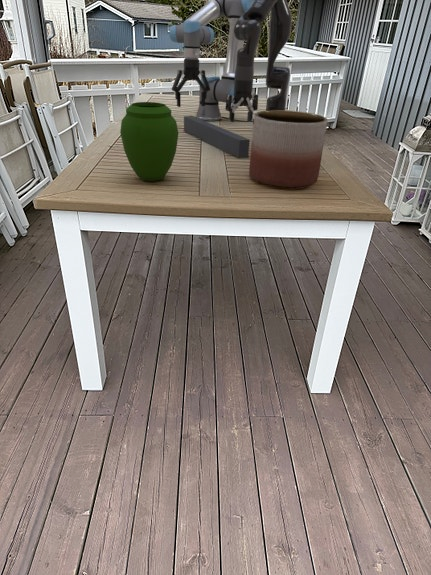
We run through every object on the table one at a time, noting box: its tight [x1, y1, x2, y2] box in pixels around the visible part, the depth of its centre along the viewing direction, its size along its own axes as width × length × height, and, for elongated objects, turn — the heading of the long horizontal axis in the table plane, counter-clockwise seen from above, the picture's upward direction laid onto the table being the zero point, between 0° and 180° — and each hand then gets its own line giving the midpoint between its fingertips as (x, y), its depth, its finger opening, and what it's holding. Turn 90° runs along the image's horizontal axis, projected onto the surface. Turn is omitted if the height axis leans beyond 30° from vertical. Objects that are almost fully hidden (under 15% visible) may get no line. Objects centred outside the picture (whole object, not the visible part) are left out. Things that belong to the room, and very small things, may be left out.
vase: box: [119, 101, 179, 182], centre depth 140 cm, size 20×20×24 cm
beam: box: [183, 115, 251, 159], centre depth 195 cm, size 56×5×7 cm, turn 28°
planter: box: [248, 109, 329, 190], centre depth 146 cm, size 25×25×22 cm
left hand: (191, 106), depth 208 cm, fingers open, 13 cm apart
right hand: (240, 121), depth 172 cm, fingers open, 8 cm apart
